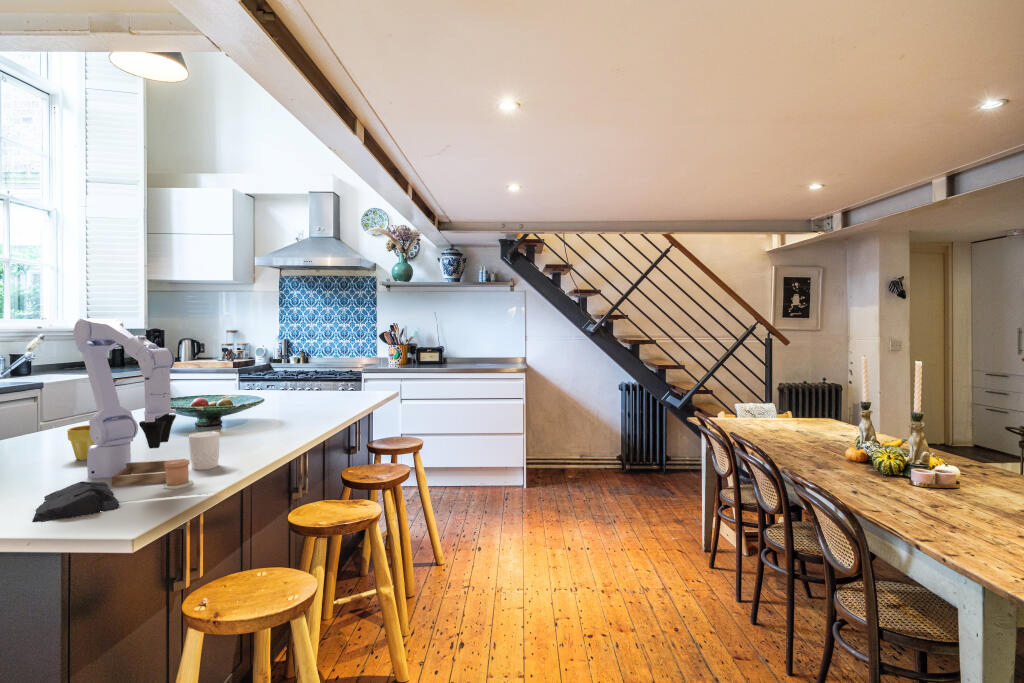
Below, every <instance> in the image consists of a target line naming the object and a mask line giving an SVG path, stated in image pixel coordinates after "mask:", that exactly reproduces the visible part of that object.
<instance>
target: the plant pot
mask: <svg viewBox="0 0 1024 683" xmlns="http://www.w3.org/2000/svg"><path fill="white" fill-rule="evenodd" d="M66 431H67V439H68V441H70V443H71V446H72V450H73V453H74V456H75V459H87V453H88V450H89V448H90V446H92V445H96V444H95V443H94V442H93V441H92V440H91V438H90V424H88V425H87V424H86V425H80V426H74V427H73V426H72V427H70V428H68V429H67V430H66Z"/></svg>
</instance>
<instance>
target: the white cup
mask: <svg viewBox="0 0 1024 683" xmlns="http://www.w3.org/2000/svg"><path fill="white" fill-rule="evenodd" d="M220 434H221V433H220V432H218V431H203V432H202V431H201V432H196V433H192V434H191V433H190V434H189V435H188V445H189V457H190V458H189V459H190V464H191V465H190V466H191V469H192V470H197V471H199V470H200V471H201V470H208V469H213V468H216V467H218V466H219V457H220V436H221V435H220Z"/></svg>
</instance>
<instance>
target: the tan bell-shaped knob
mask: <svg viewBox="0 0 1024 683" xmlns="http://www.w3.org/2000/svg"><path fill="white" fill-rule="evenodd" d="M178 459H179V460H174V459H171V460H172V461H168V462H165V463H164V467H165V468H166V482H165V484H166V485H167V486H178V485H183V484H186V483H188V482H189V480H190V479H189V478H190V477H189V465H190V464H191V459H186V458H178Z"/></svg>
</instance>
